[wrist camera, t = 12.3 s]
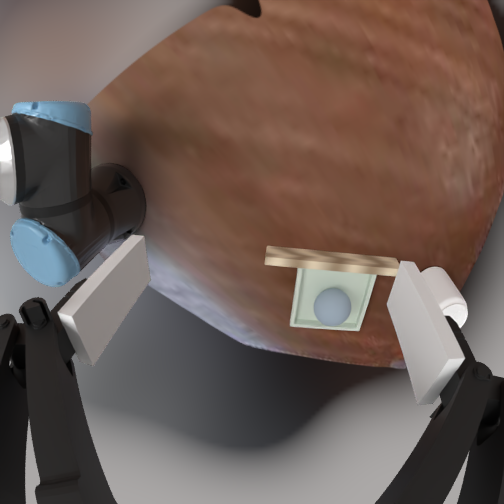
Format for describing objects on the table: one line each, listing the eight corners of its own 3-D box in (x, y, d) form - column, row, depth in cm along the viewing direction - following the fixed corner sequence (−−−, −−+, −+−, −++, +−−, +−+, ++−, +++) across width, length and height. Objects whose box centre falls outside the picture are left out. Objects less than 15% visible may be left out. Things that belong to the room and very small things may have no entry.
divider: (266, 253, 54) (264, 264, 50) (267, 245, 53) (265, 256, 50) (393, 265, 52) (399, 276, 48) (395, 258, 51) (402, 269, 47)
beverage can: (406, 278, 53) (425, 318, 42) (440, 257, 49) (465, 293, 39) (418, 304, 55) (436, 344, 45) (450, 285, 52) (473, 322, 41)
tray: (290, 319, 60) (289, 326, 59) (298, 258, 54) (298, 264, 52) (357, 324, 59) (359, 331, 57) (375, 265, 52) (377, 271, 50)
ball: (310, 308, 58) (310, 332, 52) (316, 279, 55) (317, 302, 49) (344, 311, 57) (348, 335, 51) (352, 282, 54) (357, 305, 48)
